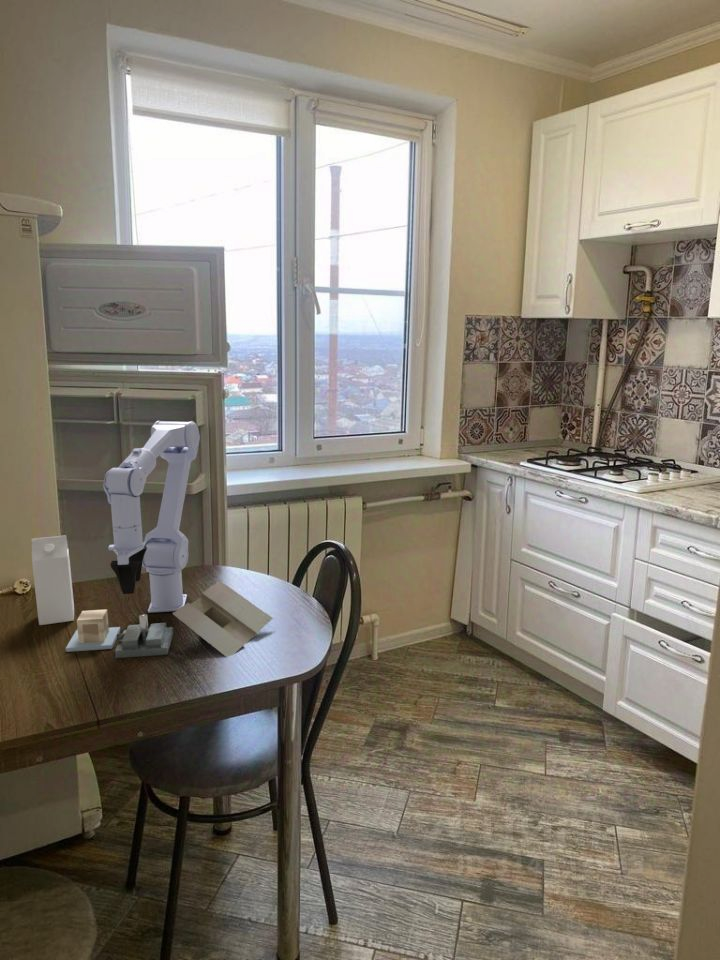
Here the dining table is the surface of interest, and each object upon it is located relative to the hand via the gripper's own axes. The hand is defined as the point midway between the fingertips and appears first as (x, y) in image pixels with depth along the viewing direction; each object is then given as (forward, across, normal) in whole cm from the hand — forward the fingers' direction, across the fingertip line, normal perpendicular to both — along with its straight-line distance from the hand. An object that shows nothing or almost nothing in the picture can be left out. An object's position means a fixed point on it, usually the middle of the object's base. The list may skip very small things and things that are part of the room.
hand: (131, 586), depth 148 cm
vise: (+10, +7, +3) cm, 13 cm away
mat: (+10, +3, -8) cm, 13 cm away
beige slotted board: (+11, +5, +19) cm, 23 cm away
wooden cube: (+10, +3, -8) cm, 13 cm away
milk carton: (+11, -11, -19) cm, 24 cm away
